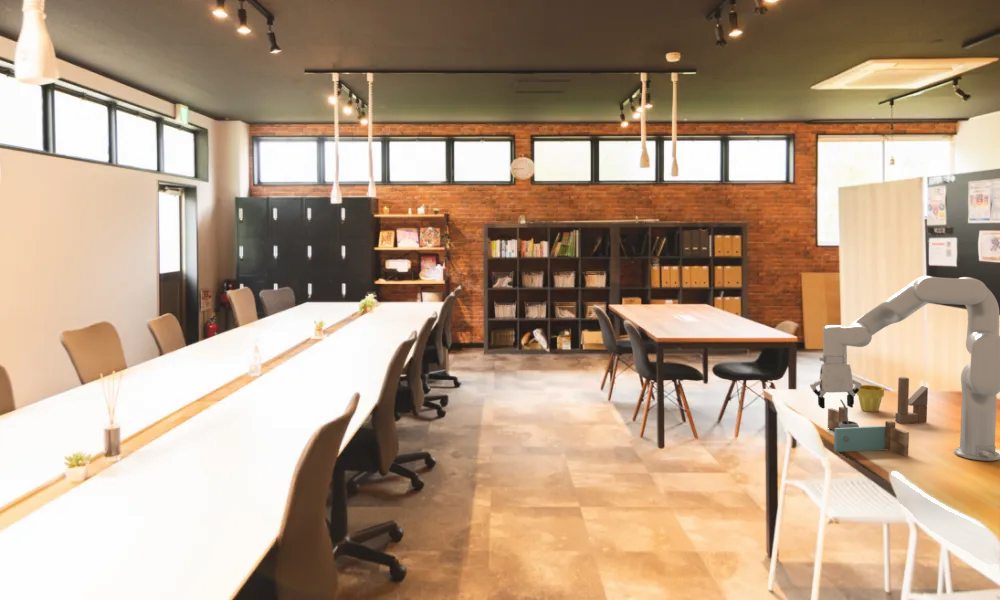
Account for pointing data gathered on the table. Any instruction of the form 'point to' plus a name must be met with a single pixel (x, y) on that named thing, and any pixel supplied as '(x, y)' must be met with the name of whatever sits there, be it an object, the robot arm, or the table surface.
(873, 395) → the plant pot
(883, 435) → the door
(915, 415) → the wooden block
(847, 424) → the mate gourd
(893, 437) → the gate frame
